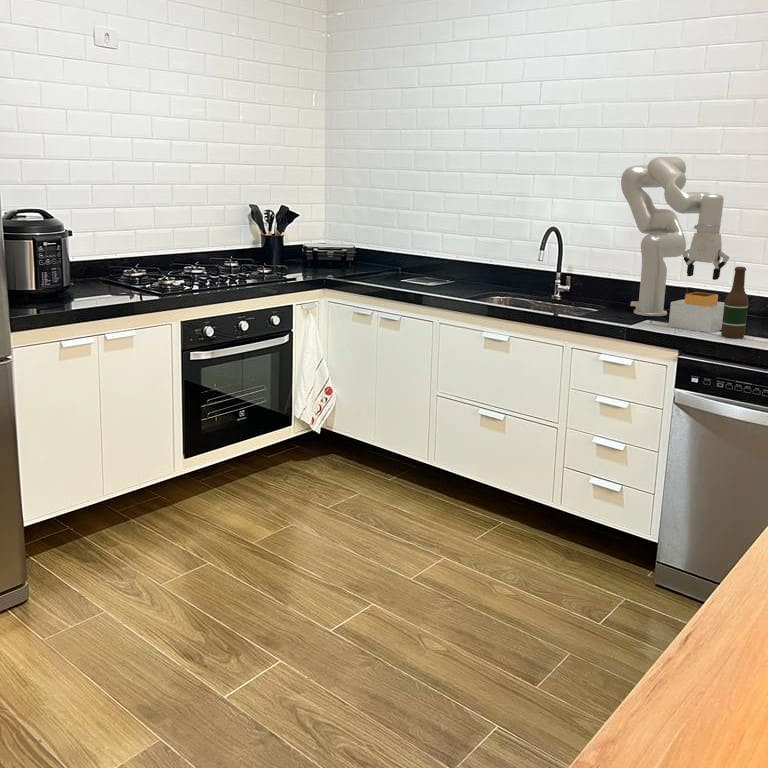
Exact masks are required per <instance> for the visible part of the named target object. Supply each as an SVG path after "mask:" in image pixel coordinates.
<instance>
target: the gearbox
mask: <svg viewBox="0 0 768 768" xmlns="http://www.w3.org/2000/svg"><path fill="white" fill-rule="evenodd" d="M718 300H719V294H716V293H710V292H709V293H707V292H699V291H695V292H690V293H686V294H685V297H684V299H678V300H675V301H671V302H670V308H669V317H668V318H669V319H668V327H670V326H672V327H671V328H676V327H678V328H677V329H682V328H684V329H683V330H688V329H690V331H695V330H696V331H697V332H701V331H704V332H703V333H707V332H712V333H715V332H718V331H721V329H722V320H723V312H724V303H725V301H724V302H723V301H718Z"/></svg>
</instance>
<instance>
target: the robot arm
mask: <svg viewBox="0 0 768 768" xmlns="http://www.w3.org/2000/svg"><path fill="white" fill-rule="evenodd" d="M686 171H687V165H686V163H685V161H684V160H683V159H682V158H680V157H676V156H658V157H655V158H653V159H651V160H650V161H649V162H648V164H647V165H645V164H644V165H633V166H629V167H627V168H626V169H624V171H623V172H622V174H621V178H620V179H621V180H620V187H621V188H620V189H621V191H622V195H623V196H624V198H625V200H626V202H627V203H628V206H629V207H630V211H631V212H632V216H633V219H634V222H635V224H636V227H637V229H638V231H639V233H641V234H644V235H645V236H643V238H642V240H641V242H640V253H641V270H640V283H639V284H640V285H639V297H638V300H637V301H636V300H635V301H633V300H632V301H631V302H630V305H629V306H630V307H633V308H634V307H635V309H633V313H634V314H635V315H639V316H643V317H644V316H646V317H664V316H667V315H668V311H667V310H664V307H665V306H664V305H665V295H666V286H667V285H666V283H667V273H668V267H667V264H666V262H665V261H664V258H678V257H681V256H682V257H683V261H684V262H685V264H686V266H687V267H686V268H687V269H686V273H687V274H686V276H687V277H693V275H694V270H695V263H697V262H698V263H699V262H700V263H708V264H712V265H713V266H714V268H713V271H712V272H713V273H712V280H713V281H716V280H719V278H720V277H721V269H722V268H723V267H724V266H726V265H727V263H728V261H729V260H730V256H729V255H728V254H726V253H724V252H723V251H722V249H723V247H722V242H723V241H722V234H721V233H720V231H721V223H722V217H723V216H722V215H723V206H724V200H725V199H724V195H722V194H718V193H709V192H706V191H705V192H704V191H699V192H698V191H683V190H682V189H684V187H685V185H686V183H687V177H686ZM643 188H662V189H663V190H664V193H663V194H664V200H665V202H666V204H667V205H668V206H669V207H670V208H671V209H672V210H670V209H667V208H664V209H663V208H662V209H661V208H660V209H659V208H656V207H655V205H654V203H653V199H652V197H651V196H650V195H649V194H648V192H646V191H645V190H644V189H643ZM673 210H674V211H675V212H677V213H678V214H683V215H684V214H686V215H687V214H698V220H697V221H698V222H697V224H695V225H694V226H693V229H694V230H696V232H694V234H693V237H692V240H691V243H690V247H689V249H686V248H687V241H686V238H685V237H686V236H685V234H684V232H683V229H682V226H681V224H680V221H679V219H678V216H677V215H676V213H675V212H674V211H673ZM721 258H722V261H721Z"/></svg>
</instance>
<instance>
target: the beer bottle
mask: <svg viewBox="0 0 768 768" xmlns="http://www.w3.org/2000/svg"><path fill="white" fill-rule="evenodd" d="M746 271H747V268H746V267H745V266H736V267H735V268H734V277H733V280H732V281H733V282H732V286H731V290H730V291H729V292H728V293H727V295H726V297H725V300H724V312H723V320H722V329H721V330H720V334H721V337H724V338H726V339H743V338H744V337H745V333H746V326H747V319H748V310H749V309H748V308H749V298H748V295H747V292H746V290H745V282H746V281H745V280H746V279H745V278H746Z"/></svg>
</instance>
